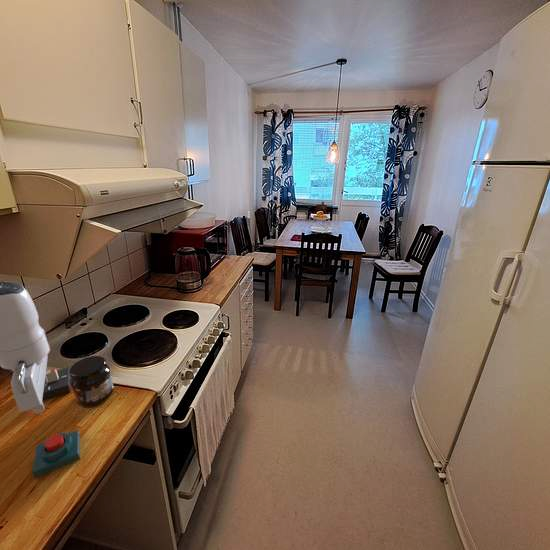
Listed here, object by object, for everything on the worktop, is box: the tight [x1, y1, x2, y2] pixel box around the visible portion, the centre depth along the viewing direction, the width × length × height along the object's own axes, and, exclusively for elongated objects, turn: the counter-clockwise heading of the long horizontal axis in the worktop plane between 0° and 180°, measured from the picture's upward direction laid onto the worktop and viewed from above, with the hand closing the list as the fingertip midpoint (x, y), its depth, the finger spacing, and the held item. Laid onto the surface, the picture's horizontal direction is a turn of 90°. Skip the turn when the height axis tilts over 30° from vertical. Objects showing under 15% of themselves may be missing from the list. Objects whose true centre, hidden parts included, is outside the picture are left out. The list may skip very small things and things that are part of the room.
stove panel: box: [42, 366, 72, 402], centre depth 93 cm, size 10×10×3 cm
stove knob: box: [46, 368, 59, 383], centre depth 92 cm, size 5×2×4 cm, turn 122°
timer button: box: [45, 433, 64, 452], centre depth 71 cm, size 4×4×2 cm
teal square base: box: [32, 429, 81, 479], centre depth 72 cm, size 9×8×4 cm
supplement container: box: [69, 355, 115, 408], centre depth 89 cm, size 10×10×12 cm
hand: (42, 397), depth 69 cm, fingers open, 8 cm apart
